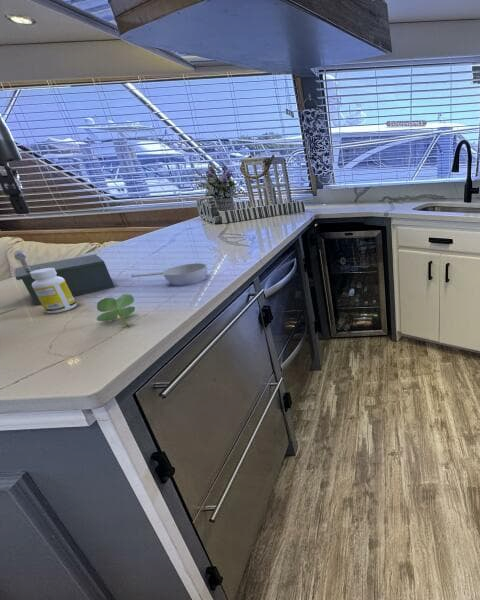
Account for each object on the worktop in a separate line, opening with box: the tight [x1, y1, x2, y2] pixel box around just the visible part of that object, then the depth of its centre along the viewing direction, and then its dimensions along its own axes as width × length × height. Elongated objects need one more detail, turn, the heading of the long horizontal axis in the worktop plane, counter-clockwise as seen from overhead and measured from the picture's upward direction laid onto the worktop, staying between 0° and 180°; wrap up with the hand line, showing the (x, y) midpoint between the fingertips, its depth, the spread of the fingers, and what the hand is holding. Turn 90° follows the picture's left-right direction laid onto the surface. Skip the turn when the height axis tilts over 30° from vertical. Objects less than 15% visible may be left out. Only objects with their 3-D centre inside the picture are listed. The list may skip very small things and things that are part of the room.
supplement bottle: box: [30, 268, 77, 314], centre depth 75 cm, size 5×5×10 cm
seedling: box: [96, 293, 136, 327], centre depth 68 cm, size 7×8×7 cm
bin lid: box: [13, 249, 106, 281], centre depth 85 cm, size 16×13×6 cm
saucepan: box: [131, 262, 208, 286], centre depth 91 cm, size 11×18×4 cm, turn 114°
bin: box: [21, 263, 115, 306], centre depth 88 cm, size 16×13×7 cm
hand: (23, 212), depth 78 cm, fingers open, 8 cm apart
